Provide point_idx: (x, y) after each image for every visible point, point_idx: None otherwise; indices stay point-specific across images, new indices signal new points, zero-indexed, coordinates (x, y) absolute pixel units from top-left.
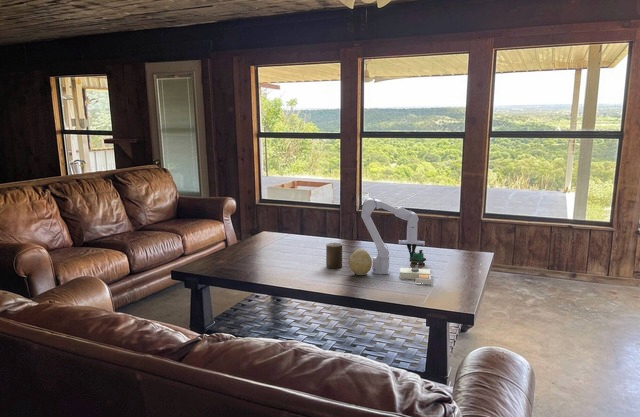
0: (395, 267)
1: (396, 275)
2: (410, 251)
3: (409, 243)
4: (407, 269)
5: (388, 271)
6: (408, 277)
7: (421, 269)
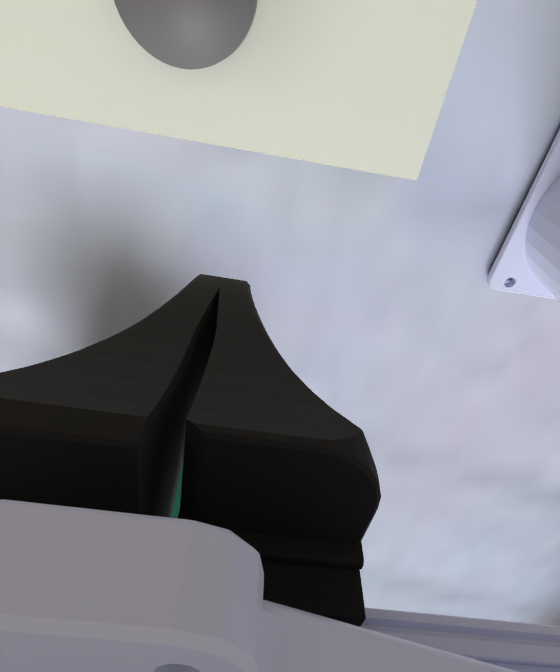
0: (384, 365)
1: (474, 66)
2: (233, 341)
3: (276, 615)
4: (319, 74)
5: (551, 189)
6: None
7: (71, 82)
